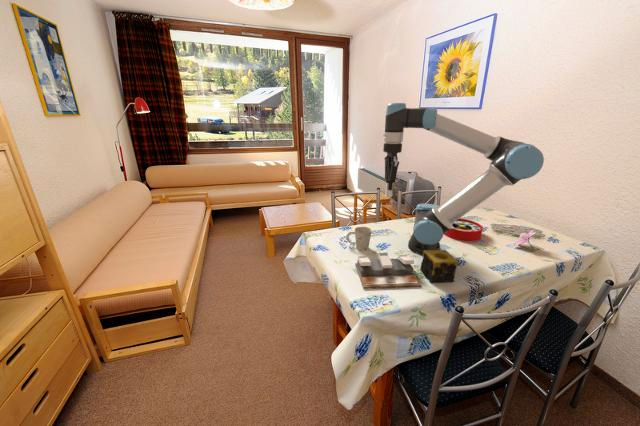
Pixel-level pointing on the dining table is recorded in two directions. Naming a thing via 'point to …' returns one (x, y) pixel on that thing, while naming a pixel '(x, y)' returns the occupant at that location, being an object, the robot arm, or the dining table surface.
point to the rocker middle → (385, 260)
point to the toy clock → (465, 230)
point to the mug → (361, 237)
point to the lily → (524, 238)
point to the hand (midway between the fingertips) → (388, 196)
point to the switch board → (387, 275)
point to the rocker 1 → (364, 261)
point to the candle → (438, 266)
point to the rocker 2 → (405, 259)
